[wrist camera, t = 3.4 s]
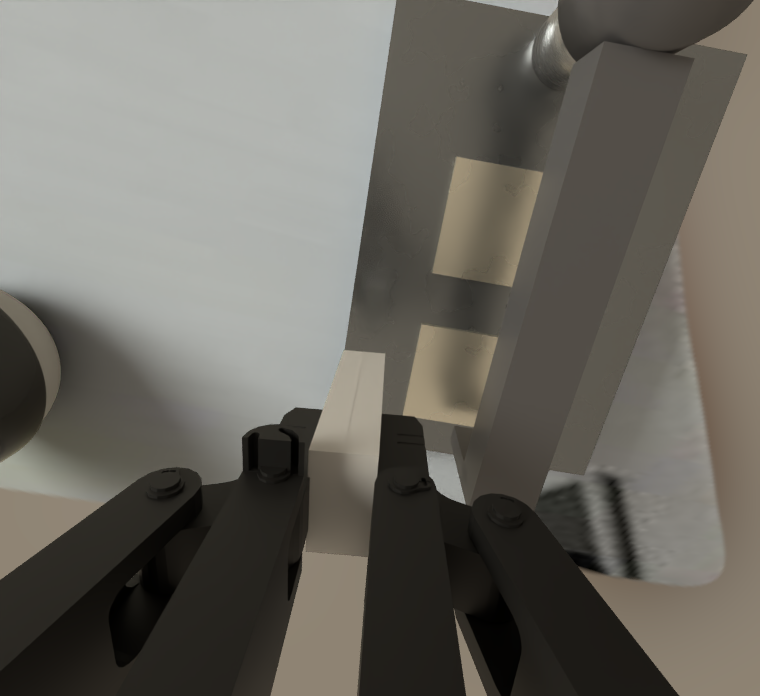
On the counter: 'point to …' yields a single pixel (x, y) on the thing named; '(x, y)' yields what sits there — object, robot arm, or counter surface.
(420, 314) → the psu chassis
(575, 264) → the lever
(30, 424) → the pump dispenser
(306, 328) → the counter surface
